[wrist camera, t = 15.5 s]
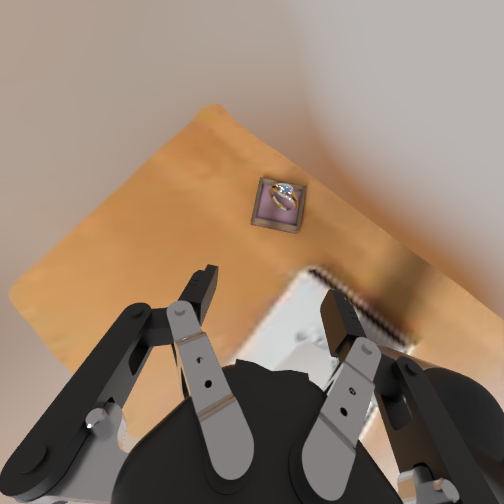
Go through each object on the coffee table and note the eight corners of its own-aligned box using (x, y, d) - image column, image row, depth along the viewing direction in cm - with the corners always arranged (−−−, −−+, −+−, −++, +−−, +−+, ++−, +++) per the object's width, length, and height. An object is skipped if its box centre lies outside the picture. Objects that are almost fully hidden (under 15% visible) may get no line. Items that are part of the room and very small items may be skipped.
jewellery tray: (303, 192, 48) (306, 186, 45) (296, 233, 45) (299, 230, 43) (259, 183, 48) (260, 177, 45) (250, 224, 45) (251, 220, 43)
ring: (263, 201, 46) (268, 182, 38) (273, 193, 46) (279, 172, 38) (285, 221, 45) (294, 205, 37) (294, 212, 45) (305, 195, 37)
